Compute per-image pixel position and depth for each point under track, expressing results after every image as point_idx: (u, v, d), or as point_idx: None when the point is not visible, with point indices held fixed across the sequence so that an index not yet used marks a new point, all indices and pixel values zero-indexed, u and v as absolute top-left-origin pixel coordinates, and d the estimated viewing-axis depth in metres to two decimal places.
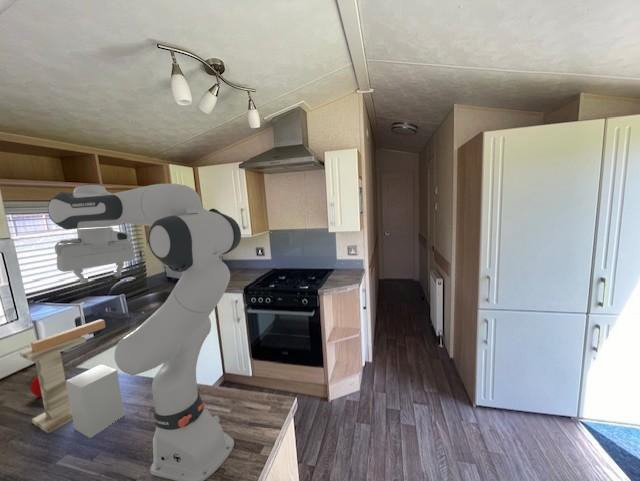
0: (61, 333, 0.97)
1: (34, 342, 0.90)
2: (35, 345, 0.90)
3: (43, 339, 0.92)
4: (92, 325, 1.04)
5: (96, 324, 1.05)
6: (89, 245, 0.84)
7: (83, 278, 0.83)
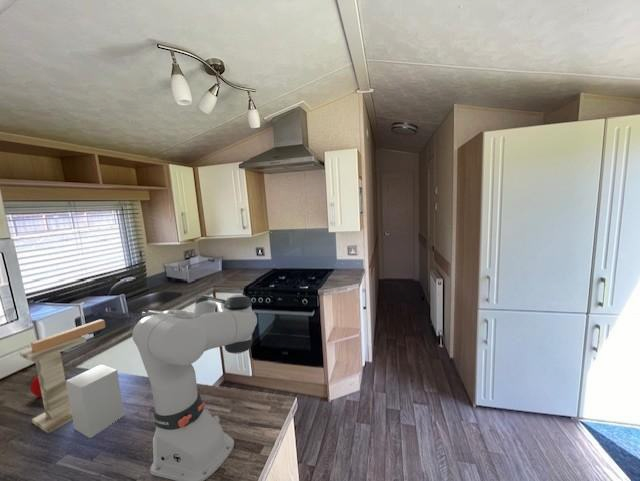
0: (61, 333, 0.97)
1: (34, 342, 0.90)
2: (35, 345, 0.90)
3: (43, 339, 0.92)
4: (92, 325, 1.04)
5: (96, 324, 1.05)
6: None
7: None
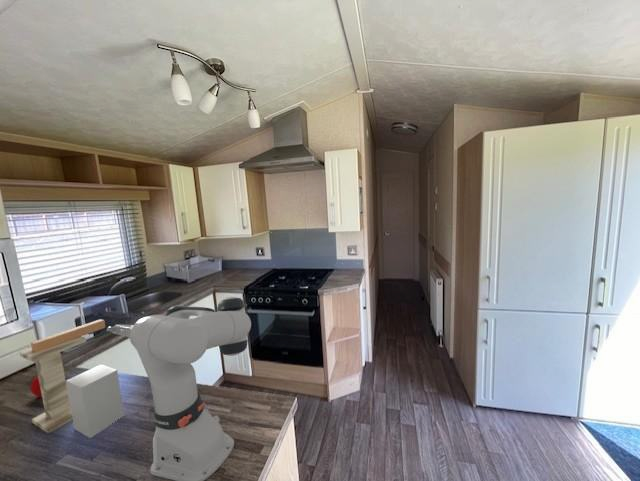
0: (61, 333, 0.97)
1: (34, 342, 0.90)
2: (35, 345, 0.90)
3: (43, 339, 0.92)
4: (92, 325, 1.04)
5: (96, 324, 1.05)
6: None
7: (124, 334, 1.11)
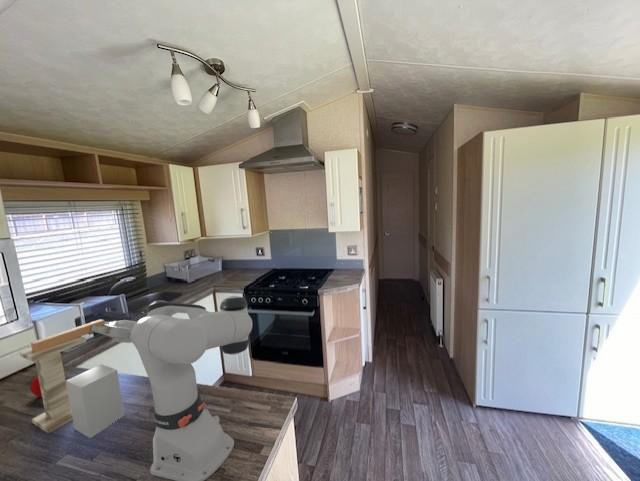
0: (61, 333, 0.97)
1: (34, 342, 0.90)
2: (35, 345, 0.90)
3: (43, 339, 0.92)
4: (92, 325, 1.04)
5: (96, 324, 1.05)
6: None
7: (95, 331, 1.04)
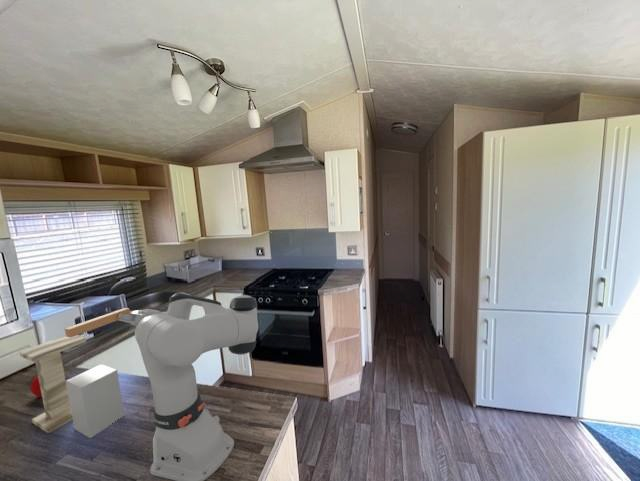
0: (91, 320, 1.02)
1: (68, 328, 0.96)
2: (69, 331, 0.95)
3: (76, 326, 0.98)
4: None
5: (122, 312, 1.10)
6: None
7: (122, 318, 1.09)
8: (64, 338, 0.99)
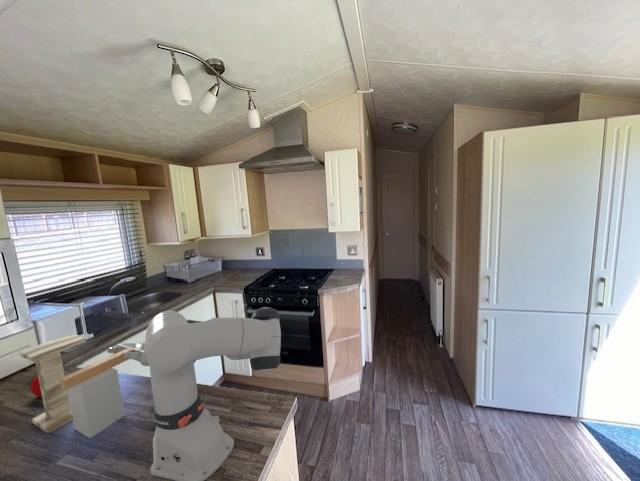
0: (90, 366, 0.90)
1: (64, 378, 0.84)
2: (65, 382, 0.83)
3: (72, 375, 0.86)
4: (121, 355, 0.97)
5: None
6: None
7: (128, 357, 0.96)
8: (64, 338, 0.99)
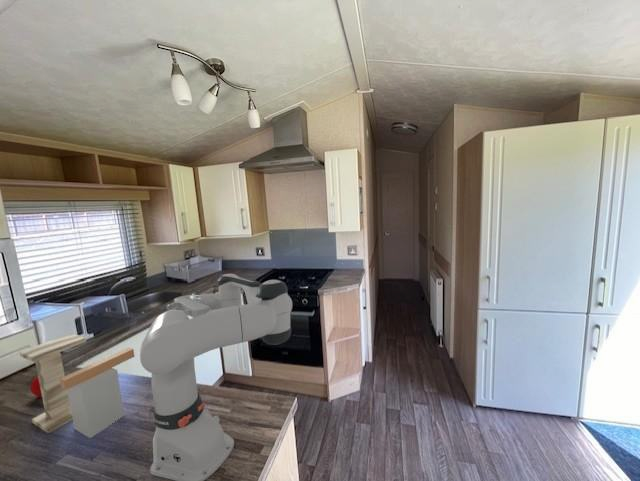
0: (90, 366, 0.90)
1: (64, 378, 0.84)
2: (65, 382, 0.83)
3: (72, 375, 0.86)
4: (121, 355, 0.97)
5: (125, 354, 0.98)
6: None
7: None
8: (64, 338, 0.99)
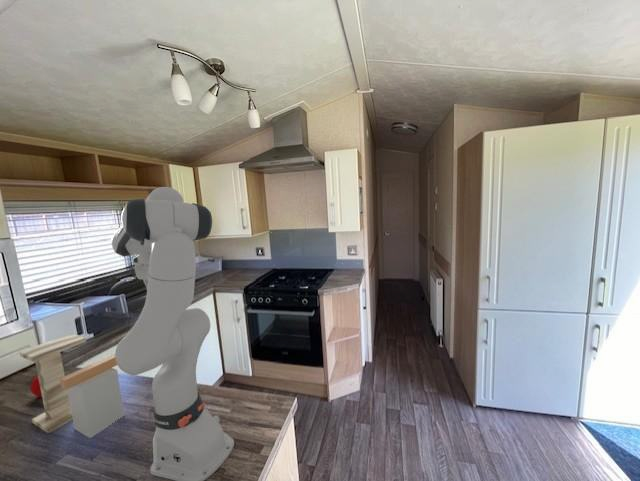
0: (90, 366, 0.90)
1: (64, 378, 0.84)
2: (65, 382, 0.83)
3: (72, 375, 0.86)
4: None
5: None
6: None
7: None
8: (64, 338, 0.99)
